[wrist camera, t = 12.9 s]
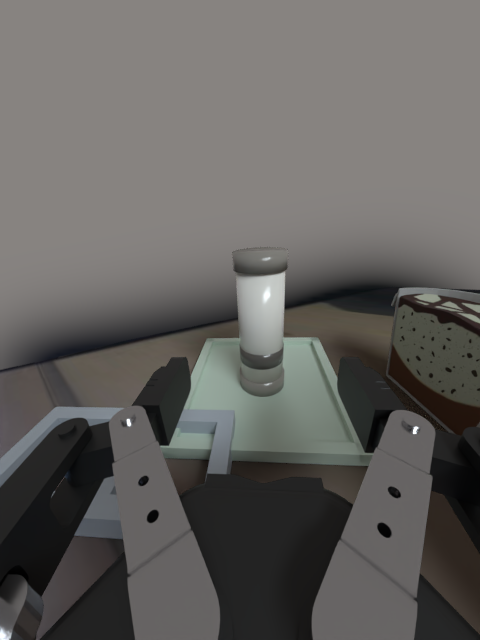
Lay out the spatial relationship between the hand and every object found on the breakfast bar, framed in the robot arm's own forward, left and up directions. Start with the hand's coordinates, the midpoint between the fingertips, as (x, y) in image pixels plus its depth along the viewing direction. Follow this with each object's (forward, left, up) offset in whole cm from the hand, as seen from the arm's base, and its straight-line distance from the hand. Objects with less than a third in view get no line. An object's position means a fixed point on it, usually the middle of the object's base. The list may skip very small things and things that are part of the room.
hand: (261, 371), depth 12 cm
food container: (+18, +9, -10) cm, 22 cm away
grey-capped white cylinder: (0, +11, -9) cm, 14 cm away
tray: (0, +11, -10) cm, 15 cm away
